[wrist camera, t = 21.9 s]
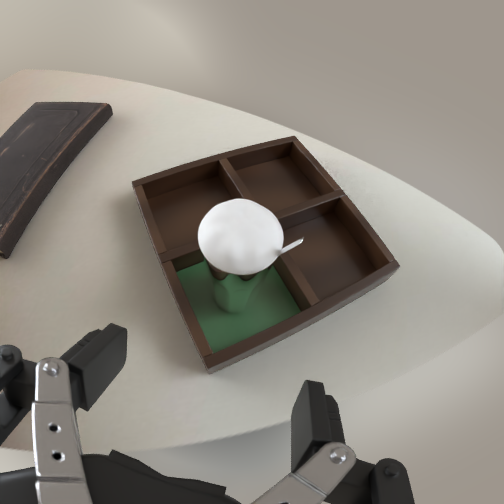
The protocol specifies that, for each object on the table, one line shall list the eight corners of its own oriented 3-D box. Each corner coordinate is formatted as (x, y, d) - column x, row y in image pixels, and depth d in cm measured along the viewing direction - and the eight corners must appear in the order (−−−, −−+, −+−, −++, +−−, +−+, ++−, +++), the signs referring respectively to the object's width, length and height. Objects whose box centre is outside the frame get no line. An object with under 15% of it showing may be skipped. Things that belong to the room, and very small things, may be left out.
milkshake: (255, 338, 21) (280, 279, 13) (192, 302, 22) (176, 223, 14) (283, 289, 24) (319, 208, 15) (223, 257, 24) (228, 165, 16)
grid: (386, 280, 26) (400, 266, 23) (209, 374, 20) (207, 369, 18) (289, 154, 33) (294, 135, 31) (137, 201, 28) (131, 181, 25)
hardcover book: (-51, 227, 23) (-59, 217, 21) (39, 113, 35) (35, 102, 33) (10, 260, 23) (-1, 248, 21) (114, 116, 35) (111, 103, 33)
